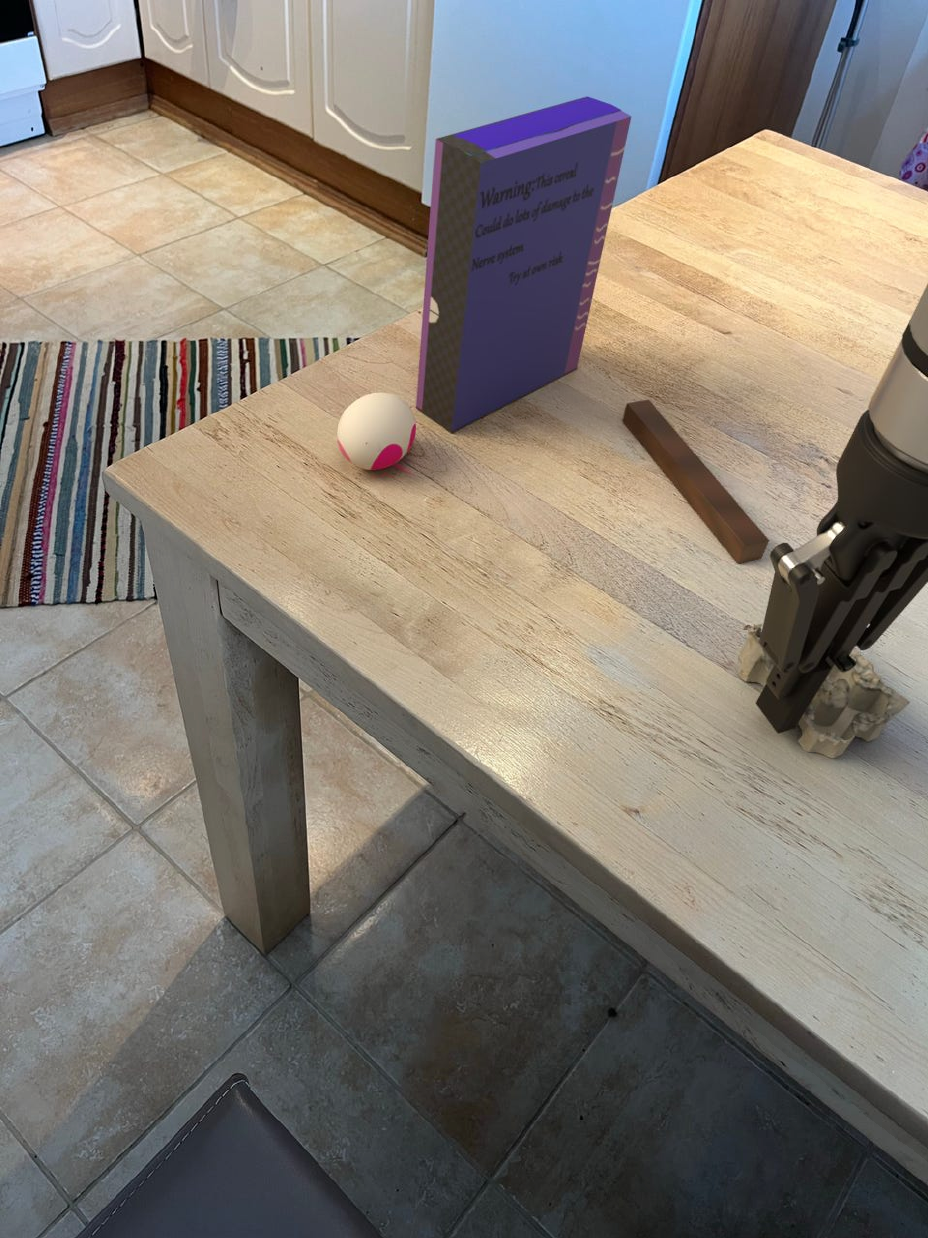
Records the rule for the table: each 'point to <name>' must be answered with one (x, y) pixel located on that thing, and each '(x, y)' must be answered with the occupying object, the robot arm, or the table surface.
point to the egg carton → (832, 700)
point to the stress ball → (376, 431)
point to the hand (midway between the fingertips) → (774, 715)
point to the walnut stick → (695, 482)
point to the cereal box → (514, 255)
